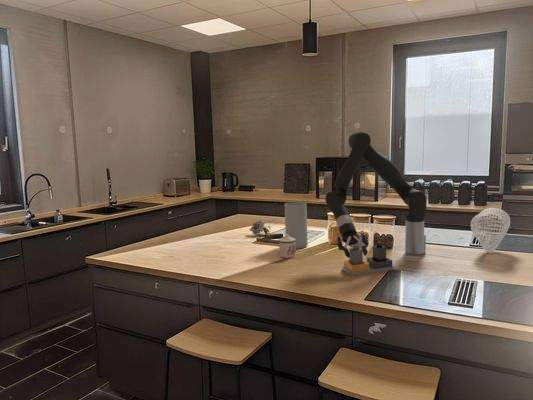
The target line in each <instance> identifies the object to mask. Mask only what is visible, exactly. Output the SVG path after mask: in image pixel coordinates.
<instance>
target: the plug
mask: <svg viewBox="0 0 533 400" xmlns="http://www.w3.org/2000/svg"><path fill="white" fill-rule="evenodd" d="M348 251H349V253H350V257H349V260H350V263H351V264H353V265H354V264H362V263H363V260H364V257H363V256H364V254H363V250H362V248H361V247H359V245H357V244H354V245H352V247H351V248H348Z"/></svg>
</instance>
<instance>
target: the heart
mask: <svg viewBox="0 0 533 400" xmlns="http://www.w3.org/2000/svg"><path fill="white" fill-rule="evenodd" d="M510 226H511V217H510V215H509V214H508V212H506V211H505V210H503V209H501V208H498V207H489V208H486V209H485V208H484V209H482V210H481V211H480V212H479V213H478V214H475V216H474V217H472V219H471V221H470V229H471V232H472V235H473V236H474V238H475V239H476V240H477V241H478V243H479V244H480V245H481V247H482V249H484V251H485V252H486V253H487V254H491V253H493V252H494V251H495V250H496V249H497V248H498V246H499V245H500V243H501V242H502V240H503V239H504V237H505V236H506V234H507V232H508V230H509V229H510Z"/></svg>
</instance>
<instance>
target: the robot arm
mask: <svg viewBox="0 0 533 400" xmlns="http://www.w3.org/2000/svg"><path fill="white" fill-rule="evenodd" d="M371 141H372V139H371V136H370V135H369V133H368V132H366V131H357V132H354V133H352V134H350V136H349V138H348V146H349V147H350V148H351V149H350V152H349V155H348V157H347V159H346V161H344V164H343V165H342V167H341V168H340V170H339V172H338V174H337V177H336V178H335V179H336V180H335V182H334V186H335V187H336V191H334V190H331V191H328V192H327V193H326V194H325V198H324V199H325V200H324V201H325V203H326V205H327V207H328V208H329V210H330V211H331V213H332V214H333V218H334V219H335V222H336V226H337V229H338V232H339V235H340V236H337V238H336V240H335V242H336V244H337V248H338V250H339V251H343V252H344V256H345V257H346V258H347V259H348V258H349V257H350V253H349V248H348V246H349V247H351V246H353V245H354V244H357V245H359V248H360V249H362V250H363V256H367V255H368V250H367V247H368V246H369V241H368V239H367V237H366V235H365V234H364V233H362V234H361V235H360V234H359V235H358V232H357V229H356V227H355V225H354V224H355V223H354V222H353V219H352V218H351V216H350V214H349V213H350V212H349V211H348V208H346V207H345V206H344V205H345V204H346V202H347V201H346V200H347V196H348V190H349V186H350V184H351V181H352V179H353V178H354V175H355V172H356V170H357V167H358V166H359V164H360V162H361V160H362V159H363V160H364V161H365V162H366V163H367V164H368V165H369V166H370V167H371V169H372V170H373V171H374V172H375V173H376V174H377V175H378V176H379V178H381V179H382V180H383V182H385V183H386V184H387V185H388V186H389V187H390V188H392V190H394V191H395V192H396V194H398V196H399V197H400V199H401V200H402V201H403V203H404V204H405V205H406V206H408V213H407V214H405V230H404V231H405V234H404V236H405V239H404V240H405V243H404V244H405V248H404V249H405V250H404V252H405V253H406V254H408V255H411V256H413V255H414V256H419V255H423V254H425V253H426V251H427V249H426V246H427V245H426V244H427V243H426V240H427V236H426V234H425V217H426V215H427V200H428V199H427V196H426V194H425V192H423V191H422V190H419V189H416V188H414V187H412V186H411V185H410V184H409V183H408V182H407V181H406V179H405V178H404V176H403V175H402V172H401V171H400V169H399V168H398V167H397V166H396V165H395V164H394V163H393V162H392V161H391V160H390V158H388V157H386V156H385V155H383V154H382V153H381V152H379V151H377V150H376V149H375V148H374V147H373V145H371ZM343 243H344V245H343ZM349 259H350V258H349Z"/></svg>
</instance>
